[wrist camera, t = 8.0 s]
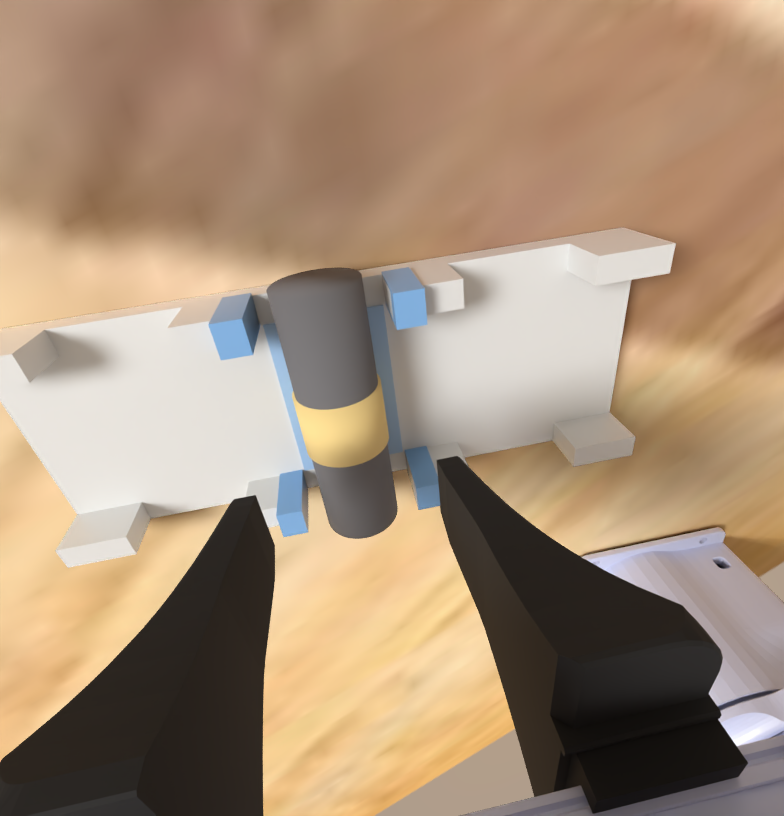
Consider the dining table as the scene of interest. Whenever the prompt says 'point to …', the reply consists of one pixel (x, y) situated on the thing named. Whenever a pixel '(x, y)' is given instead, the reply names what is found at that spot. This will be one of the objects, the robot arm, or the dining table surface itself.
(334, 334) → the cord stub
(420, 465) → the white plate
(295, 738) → the dining table surface
